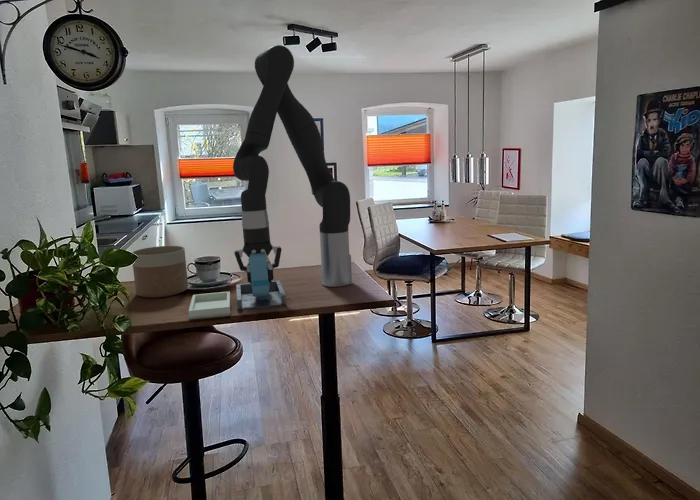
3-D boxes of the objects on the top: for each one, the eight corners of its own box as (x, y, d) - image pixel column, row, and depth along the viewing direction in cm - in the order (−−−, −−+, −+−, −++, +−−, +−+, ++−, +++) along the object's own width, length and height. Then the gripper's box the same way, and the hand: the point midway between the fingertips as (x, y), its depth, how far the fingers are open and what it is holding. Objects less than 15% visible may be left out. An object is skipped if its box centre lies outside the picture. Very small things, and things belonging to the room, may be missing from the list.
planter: (187, 283, 179) (183, 244, 176) (190, 294, 164) (185, 251, 161) (137, 289, 173) (132, 248, 171) (135, 301, 159) (130, 257, 156)
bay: (280, 289, 166) (279, 280, 165) (286, 305, 148) (285, 295, 148) (237, 293, 163) (236, 284, 162) (237, 310, 145) (236, 299, 145)
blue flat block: (268, 296, 149) (265, 255, 147) (252, 298, 149) (249, 257, 147) (269, 286, 161) (266, 248, 159) (255, 287, 161) (251, 249, 158)
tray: (230, 299, 157) (229, 291, 156) (230, 315, 141) (229, 306, 140) (193, 302, 155) (192, 294, 154) (189, 319, 139) (188, 310, 138)
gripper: (279, 222, 156) (283, 277, 160) (230, 226, 153) (235, 282, 157) (281, 225, 149) (286, 283, 152) (230, 229, 146) (236, 288, 149)
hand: (260, 282), depth 154 cm, fingers closed on blue flat block, 4 cm apart
